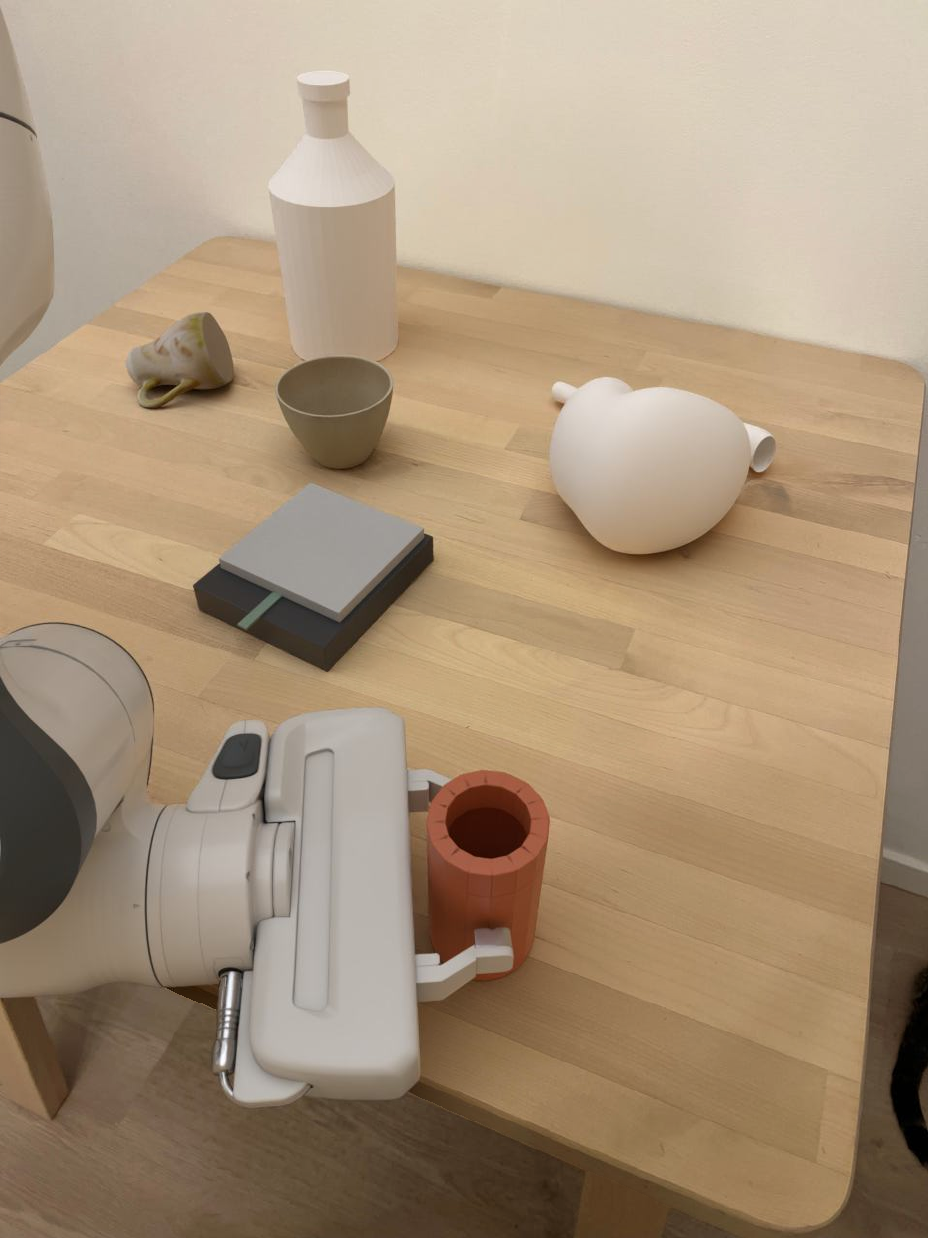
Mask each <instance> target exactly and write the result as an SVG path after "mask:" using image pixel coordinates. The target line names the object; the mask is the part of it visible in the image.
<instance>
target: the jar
mask: <svg viewBox="0 0 928 1238" xmlns="http://www.w3.org/2000/svg"><path fill="white" fill-rule="evenodd" d="M550 823H551V819H550V815H549V812H548V809H547V806H546V804H545V801H544V799H543V798H542V796H541V795H540V794H539V793H538V792H537V791H536V790H535V789H534V787H532V786H531V785H530V784H529V783H528V782H526V781H525V780H523V779H521V778H518V777H517V776H514V775H512V774H510V773H507V772H503V771H495V770H487V769H481V770H476V771H470V772H465V773H461V774H459V775H458V776H456V777H454V778H453V779H452V780H451V781H450V782H448V783H446V784H445V785H443V787H442V788H441V789H440V791H439V792H438V793H437V795H436V796H435V797H434V799H433V800H432V801H431V803H430V802H429V811H428V812H427V817H426V821H425V826H426V830H425V831H426V863H427V865H426V866H427V898H428V899H427V901H428V903H427V904H428V928H429V933H430V934H429V935H430V942H431V944H432V948H433V950H434V952H435V953H437V954H439V956H440V962H442V964H444V963H445V962H447V961H448V960H450V959H452V958H453V957H455V956H457V955H458V954H460V953H461V952H463V951H465V950H466V949H468V948H470V947H471V946H473V945H474V929H479V928H489V929H491V930H492V931H493V930H494V929H495V928H497V927H506V928H509V930H510V934H511V941H512V948H513V957H514V960H513V968H512V969H511V970H509V971H506V972H498V973H485V974H476V977H475V978H473V979H472V980H474V981H483V982H484V981H493V980H498V979H500V978H504V977H506V976H508V975H510V974H512V973H513V972H515V971H516V970H517V969H518V968H520V967H521V965H523V963H524V962H525V961H526V959H527V958H528V957H529V955H530V953H531V951H532V948H533V944H534V942H535V936H536V927H537V920H538V914H539V906H540V899H541V891H542V886H543V885H542V884H543V879H544V871H545V865H546V858H547V857H546V856H547V850H548V843H549V834H550Z"/></svg>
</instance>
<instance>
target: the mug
mask: <svg viewBox="0 0 928 1238" xmlns="http://www.w3.org/2000/svg"><path fill="white" fill-rule="evenodd" d="M228 341H229V340H228V339H227V337H226V334H225V333H224V331H223V329H222V328H221V326H220V324H219V323H218V321H217V320H216V318H215V317H214V315H213V314H212V313H211V312H207V311H203V312H201V311H200V312H195V313H192V314H188V315H186V316H184V317H183V318H181V319H180V320H178V321H177V322H175V323H174V324H173V325H172V326H170V327H169V328H168V329H167V330H166V331H165V332H163V334H161V335H160V336H158V338H156V339H155V340H153V341H151V342H149V343H145V344H143V345H139V346H136V347H134V348H131V350H130V351H129V353H128V355H127V357H126V360H125V367H126V372H127V373H128V375H129V377H130V379H131V380H132V381H133V382H134V383H135V384H136V385H138V386H140V387H141V388H140V389H139V390H138V392H137V395H136V400H137V402H138V404H139V405H140V406H141V407H144V408H160V407H162V406H164V405H166V404H168V403H170V402H171V401H173V400H174V399H177V398H178V397H179V396H181V395H183V394H184V393H187V392H188V391H191V390H193V389H194V390H214V389H219V388H221V387H223V386H225V385H227V384H229V383H231V382H233V379H234V375H235V366H234V361H233V355H232V351H231V348H230V344H229V342H228ZM160 386H175V387H174V388H173V389H171V390H170V391H168V392H167V393H166V394H164V395H163V396H161V397H159V398H156V399H148V398H147V395H148V391H149V390H151V389H153V388H155V387H160Z"/></svg>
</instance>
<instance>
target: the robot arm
mask: <svg viewBox="0 0 928 1238" xmlns="http://www.w3.org/2000/svg"><path fill="white" fill-rule="evenodd" d="M22 75H23V74H22V71H21V68H20V64H19V61H18V57H17V54H16V51H15V48H14V45H13V42H12V38H11V36H10V32H9V30H8V26H7V23H6V20H5V16H4V14H3V9H2V8H1V7H0V367H1V366H2V365H3V363H4V362H5V361H6V359H8V357H10V355H12V354H13V353H14V351H16V350H17V349H18V348H19V347H21V345H23V344H24V343H25V342H26V340H28V339H29V337H31V335H32V334H33V332H34V331H35V330H36V329H37V328H38V326H39V325H40V323H41V322H42V320H43V319H44V316H45V315H46V313H47V311H48V309H49V308H50V305H51V303H52V300H53V299H54V294H55V243H54V242H55V241H54V224H53V215H52V206H51V200H50V199H51V198H50V193H49V188H48V187H49V186H48V182H47V177H46V172H45V169H44V163H43V158H42V153H41V149H40V144H39V140H38V134H37V131H36V127H35V121H34V118H33V113H32V110H31V105H30V101H29V97H28V93H27V89H26V86H25V81H24V78H23V76H22ZM151 688H152V687H151V684H150V682H149V680H148V677H147V676H146V673H145V672H144V670H143V669H142V667H141V665H140V664H139V663H138V661H137V660H136V659H135V657H134V656H133V655H132V654H131V653H130V652H129V651H128V650H127V649H126V648H125V647H123V646H122V645H121V644H120V643H118V642H116V641H115V639H113V638H111V637H110V636H108V635H106V634H105V633H101V632H100V631H98V630H95V629H93V628H90V627H87V626H83V625H80V624H75V623H70V622H62V621H61V622H60V621H53V622H51V621H49V622H40V623H34V624H30V625H27V626H23V627H21V628H18V629H16V630H14V631H11V632H10V633H8V634H6V635H5V636H3V637H1V638H0V999H11V998H12V999H13V998H16V999H17V998H18V999H19V998H36V997H37V998H38V997H39V998H41V997H55V996H68V995H70V996H71V995H77V994H81V993H85V992H88V991H90V990H93V989H96V988H98V987H101V986H104V985H109V984H116V983H117V984H118V983H129V984H130V983H131V984H137V985H141V986H145V987H149V988H155V989H165V988H178V987H194V986H208V985H218V988H217V989H218V990H217V1001H216V1028H215V1029H216V1030H215V1040H214V1041H213V1043H212V1047H211V1053H210V1054H211V1056H210V1060H211V1061H210V1062H211V1063H210V1066H211V1073H212V1075H213V1076H215V1077H218V1082H219V1086H220V1088H221V1091H222V1092H223V1094H224V1096H225V1097H226V1098H227V1099H228V1100H229V1101H230V1102H232V1104H234V1105H236V1106H238V1107H241V1108H245V1109H264V1108H275V1107H284V1106H288V1105H290V1104H293V1103H295V1102H297V1101H298V1100H300V1099H301V1098H302V1097H303V1096H304V1097H311V1098H322V1099H331V1100H333V1099H334V1100H350V1101H386V1100H397V1099H399V1098H401V1097H403V1096H404V1095H406V1094H407V1093H408V1092H409V1091H410V1089H412V1088H413V1087H414V1086H415V1085H416V1084H417V1083H418V1082H419V1080H420V1079H421V1051H420V1027H419V1025H420V1024H419V1007H418V1003H430V1002H440V1001H444V1000H445V999H446V998H448V997H449V996H451V995H452V994H453V993H455V992H456V991H458V990H459V989H461V988H462V987H463V986H465V985H466V984H468V983H469V982H471V981H472V980H473V978H475V977H476V974H485V973H498V972H506V971H509V970H511V969H512V968H513V960H514V957H513V948H512V941H511V934H510V930H509V928H506V927H497V928H495V929H494V930H493V931H492V930H491V929H489V928H479V929H474V945H473V946H471V947H470V948H468V949H466V950H465V951H463V952H461V953H460V954H458V955H457V956H455V957H453V958H452V959H450V960H448V961H447V962H445V963H442V964H441V960H440V956H439V954H437V953H436V952H435V953H417V954H416V942H415V920H414V919H415V917H414V916H415V915H414V898H413V897H414V896H413V873H412V872H413V871H412V852H411V850H412V849H411V847H412V846H411V831H410V828H411V827H410V825H411V824H410V814H412V813H413V814H414V813H428V811H429V806H430V803H431V801H432V800H433V799H434V797H435V796H436V795H437V793H438V792H439V791H440V789H441V788H442V787H443V785H445V784H446V783H448V782H450V781H451V780H453V779H452V778H449V777H447V776H446V775H444V774H441V773H438V772H436V771H434V770H432V769H429V768H420V769H408V755H407V754H408V753H407V734H406V732H407V731H406V723H405V722H406V721H405V719H404V717H403V716H401V715H399V714H397V713H395V712H394V711H392V710H390V709H388V708H386V707H381V706H378V707H377V706H366V707H365V706H364V707H348V708H336V709H327V710H318V711H311V712H305V713H301V714H296V715H294V716H292V717H289V718H287V719H285V720H283V721H282V722H281V723H280V724H278V725H277V727H276V728H275V729H274V730H273V732H272V734H271V735H270V731H269V727H268V725H267V724H266V722H265V721H263V720H260V719H244V720H238V721H236V722H233V723H232V724H231V725H230V726H229V727H228V728H227V730H226V732H225V733H224V736H223V737H222V739H221V741H220V743H219V745H218V747H217V748H216V751H215V753H214V754H213V756H212V758H211V760H210V762H209V763H208V766H207V767H206V769H205V770H204V773H203V774H202V775H201V777H200V779H199V781H198V783H197V784H196V785H195V787H194V788H193V790H192V791H191V793H190V794H189V797H188V798H187V801H186V802H185V803H175V804H174V803H173V804H160V803H157V802H154V801H152V799H151V798H150V797H149V793H148V785H149V781H150V775H151V768H152V758H153V748H154V747H153V746H154V731H155V702H154V695H153V692H152V689H151ZM231 1075H234V1076H233V1086H232V1084H231V1082H230V1079H229V1078H230V1076H231Z"/></svg>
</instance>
